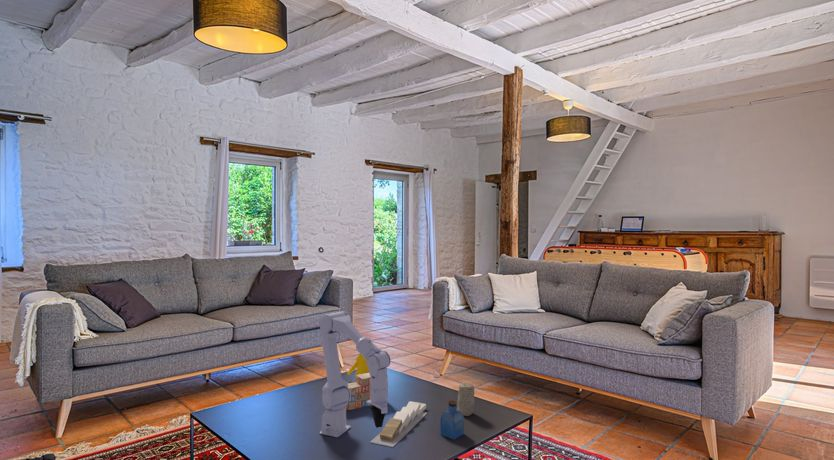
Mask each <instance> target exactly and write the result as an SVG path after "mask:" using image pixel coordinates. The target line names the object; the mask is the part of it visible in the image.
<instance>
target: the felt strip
mask: <svg viewBox="0 0 834 460" xmlns="http://www.w3.org/2000/svg"><path fill="white" fill-rule="evenodd" d="M427 414H428V412H426V411H423V412H422V413H421V414H420V415H419V416H415V418H414V420H413V421H412V422H411V421H410V422H409V423H408V425H407V427H406V428H404V427H403V429H402V431H401V432H400V434H398V433H397V434H396V436H395V437H394V439H393V441H390V440H386V439H381V438H380V433H378V434H377V435H376V436H375V437H373V439H371V441H369V442H370V443H371V444H375V445H380V446H384V447H389V448H394V447H395V446H396V445H397V444H398V443H399V442H400V441H402V439H403V438H404V437H405V436H406V435H407V434H408V433H409V432H411V431H412V430H413V429H414V427H415V426H416V425H417V424H418V423H419V422H420V421H421V420H422V419H423V418H424V417H425V416H427Z"/></svg>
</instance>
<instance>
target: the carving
mask: <svg viewBox="0 0 834 460" xmlns="http://www.w3.org/2000/svg"><path fill="white" fill-rule="evenodd" d="M456 402H457V403H456V405H457V410H459V411H460V412H461V413H462V415H463V417H469V416H471V415H473V412H474V409H475V408H474V407H475V386H474V385H473V384H472V383H470V382H461V383H460V384H459V385H458V394H457V401H456Z"/></svg>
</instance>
